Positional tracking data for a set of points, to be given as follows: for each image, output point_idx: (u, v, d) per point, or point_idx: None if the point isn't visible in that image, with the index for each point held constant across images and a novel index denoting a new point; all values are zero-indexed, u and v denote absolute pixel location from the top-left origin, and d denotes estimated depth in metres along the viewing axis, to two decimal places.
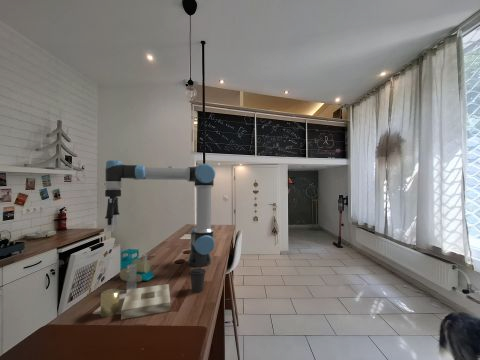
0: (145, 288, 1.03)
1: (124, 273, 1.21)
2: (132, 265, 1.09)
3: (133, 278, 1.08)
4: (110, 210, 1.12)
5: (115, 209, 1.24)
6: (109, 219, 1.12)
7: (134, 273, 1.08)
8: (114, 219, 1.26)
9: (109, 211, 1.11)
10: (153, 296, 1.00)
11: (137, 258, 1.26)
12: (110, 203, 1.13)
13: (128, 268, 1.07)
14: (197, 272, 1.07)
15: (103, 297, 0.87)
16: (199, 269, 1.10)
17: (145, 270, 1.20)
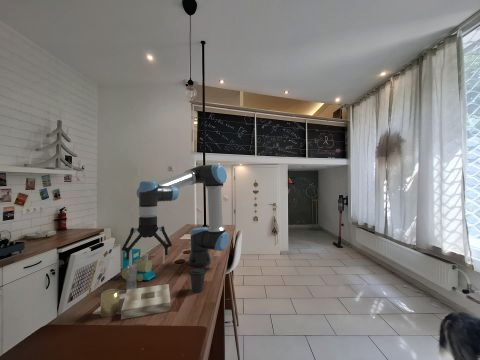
0: (145, 288, 1.03)
1: (126, 272, 1.22)
2: (132, 265, 1.09)
3: (133, 278, 1.08)
4: None
5: (159, 241, 0.99)
6: (126, 252, 0.95)
7: (134, 273, 1.08)
8: (163, 253, 1.00)
9: None
10: (153, 296, 1.00)
11: (139, 258, 1.27)
12: (130, 233, 0.96)
13: (128, 268, 1.07)
14: (197, 272, 1.07)
15: (103, 297, 0.87)
16: (199, 269, 1.10)
17: (146, 270, 1.21)
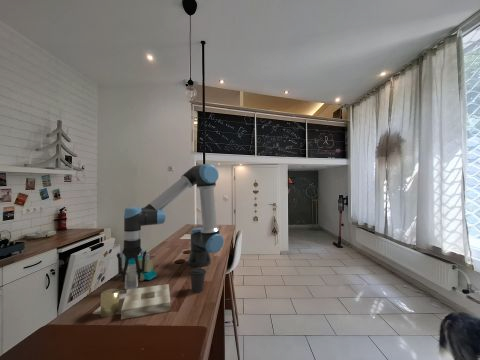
0: (145, 288, 1.03)
1: None
2: (132, 265, 1.09)
3: (133, 278, 1.08)
4: None
5: (136, 264, 1.09)
6: None
7: (134, 273, 1.08)
8: (136, 277, 1.10)
9: None
10: (153, 296, 1.00)
11: (141, 257, 1.28)
12: None
13: (128, 268, 1.07)
14: (197, 272, 1.07)
15: (103, 297, 0.87)
16: (199, 269, 1.10)
17: (148, 269, 1.21)
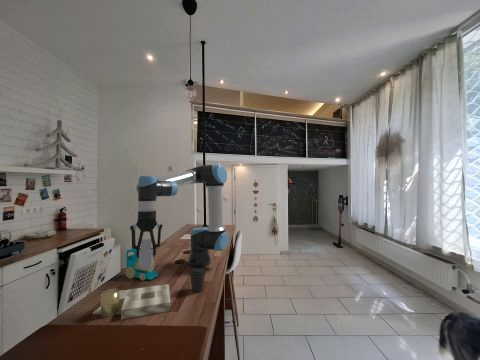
0: (145, 288, 1.03)
1: (129, 271, 1.23)
2: (147, 239, 0.99)
3: (148, 253, 0.97)
4: None
5: (151, 238, 0.98)
6: None
7: (149, 248, 0.97)
8: (151, 253, 0.99)
9: (132, 241, 0.96)
10: (153, 296, 1.00)
11: None
12: None
13: (142, 242, 0.96)
14: (197, 272, 1.07)
15: (103, 297, 0.87)
16: (199, 269, 1.10)
17: (149, 269, 1.22)
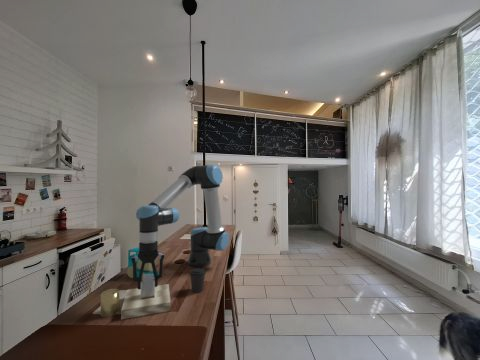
0: None
1: (131, 271, 1.24)
2: (148, 275, 0.97)
3: (150, 290, 0.95)
4: (133, 272, 0.95)
5: None
6: None
7: (151, 284, 0.95)
8: (153, 284, 0.98)
9: (133, 273, 0.95)
10: (153, 296, 1.00)
11: None
12: None
13: (144, 279, 0.95)
14: (197, 272, 1.07)
15: (103, 297, 0.87)
16: (199, 269, 1.10)
17: (150, 269, 1.22)
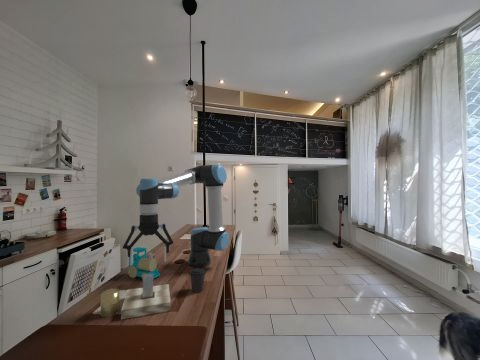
0: None
1: (132, 270, 1.24)
2: (148, 275, 0.97)
3: (150, 290, 0.95)
4: None
5: (160, 238, 0.99)
6: None
7: (151, 284, 0.95)
8: (164, 251, 1.00)
9: (126, 240, 0.94)
10: (153, 296, 1.00)
11: (145, 256, 1.29)
12: (131, 231, 0.95)
13: (144, 279, 0.95)
14: (197, 272, 1.07)
15: (103, 297, 0.87)
16: (199, 269, 1.10)
17: (150, 269, 1.22)
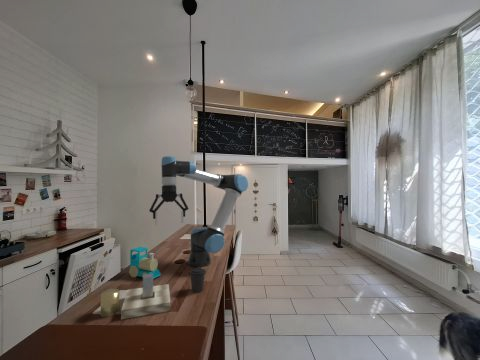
0: None
1: (133, 270, 1.25)
2: (148, 275, 0.97)
3: (150, 290, 0.95)
4: (152, 205, 1.18)
5: (178, 205, 1.23)
6: None
7: (151, 284, 0.95)
8: (181, 215, 1.24)
9: None
10: (153, 296, 1.00)
11: (146, 256, 1.29)
12: (155, 198, 1.19)
13: (144, 279, 0.95)
14: (197, 272, 1.07)
15: (103, 297, 0.87)
16: (199, 269, 1.10)
17: (151, 268, 1.23)
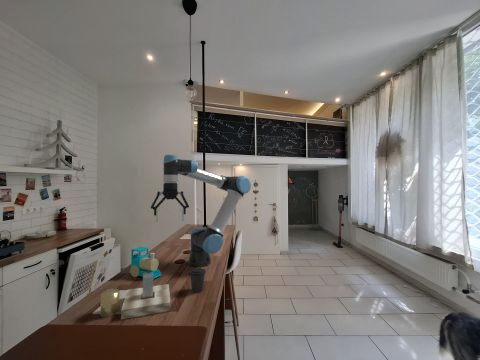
0: None
1: (134, 270, 1.25)
2: (148, 275, 0.97)
3: (150, 290, 0.95)
4: (153, 202, 1.20)
5: None
6: (154, 210, 1.21)
7: (151, 284, 0.95)
8: (182, 213, 1.26)
9: None
10: (153, 296, 1.00)
11: (147, 256, 1.30)
12: None
13: (144, 279, 0.95)
14: (197, 272, 1.07)
15: (103, 297, 0.87)
16: (199, 269, 1.10)
17: (152, 268, 1.23)
